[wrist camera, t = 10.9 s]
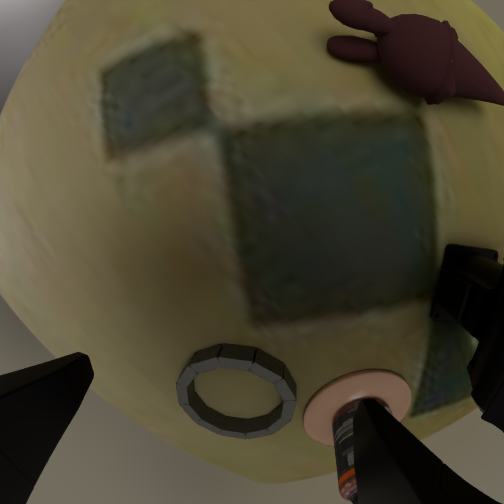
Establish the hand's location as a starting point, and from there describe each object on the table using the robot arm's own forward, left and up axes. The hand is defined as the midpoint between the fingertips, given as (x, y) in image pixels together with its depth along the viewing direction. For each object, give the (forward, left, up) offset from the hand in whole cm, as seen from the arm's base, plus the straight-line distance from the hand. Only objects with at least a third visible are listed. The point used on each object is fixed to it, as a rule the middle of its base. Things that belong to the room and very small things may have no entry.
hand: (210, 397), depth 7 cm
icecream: (-11, -16, -13) cm, 24 cm away
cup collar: (+1, +12, -13) cm, 18 cm away
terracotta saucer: (-11, +14, -13) cm, 22 cm away
